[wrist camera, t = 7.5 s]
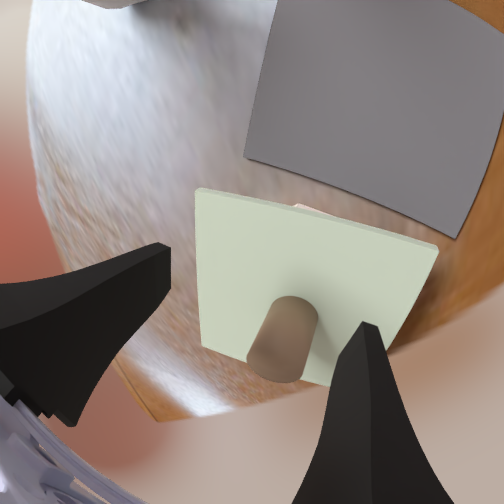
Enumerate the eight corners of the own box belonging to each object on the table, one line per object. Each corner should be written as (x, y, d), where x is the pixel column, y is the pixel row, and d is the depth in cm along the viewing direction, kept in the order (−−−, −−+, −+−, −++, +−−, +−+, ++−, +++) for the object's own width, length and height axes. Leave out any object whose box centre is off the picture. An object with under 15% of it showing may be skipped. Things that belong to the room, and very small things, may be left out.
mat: (511, 42, 6) (513, 42, 6) (453, 236, 14) (455, 239, 14) (290, -42, 9) (289, -44, 8) (244, 156, 17) (243, 156, 17)
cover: (436, 245, 11) (459, 303, 8) (357, 386, 18) (348, 437, 15) (200, 187, 15) (147, 220, 11) (205, 340, 22) (177, 382, 18)
